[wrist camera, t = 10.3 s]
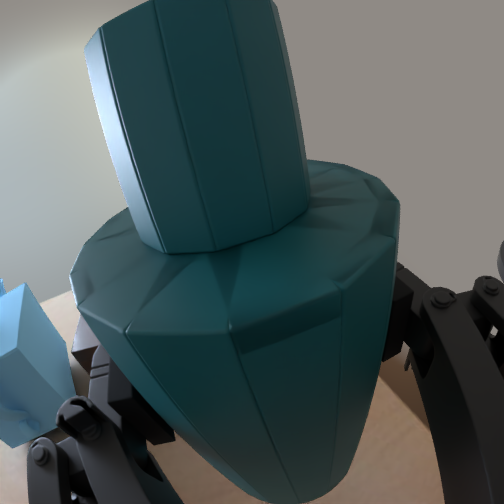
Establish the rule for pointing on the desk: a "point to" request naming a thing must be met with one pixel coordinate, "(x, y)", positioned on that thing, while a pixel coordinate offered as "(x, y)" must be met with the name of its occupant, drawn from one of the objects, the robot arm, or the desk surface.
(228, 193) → the bottle
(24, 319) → the teapot
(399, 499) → the desk surface
